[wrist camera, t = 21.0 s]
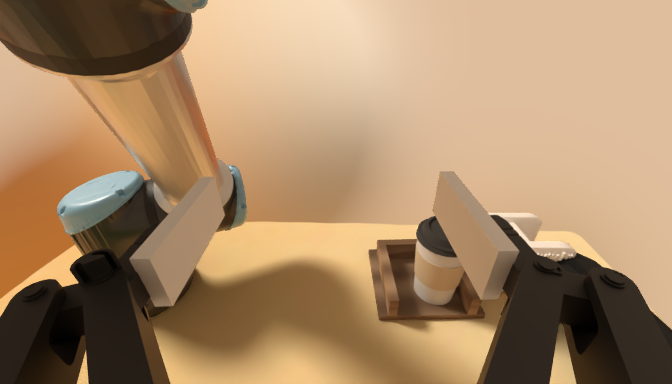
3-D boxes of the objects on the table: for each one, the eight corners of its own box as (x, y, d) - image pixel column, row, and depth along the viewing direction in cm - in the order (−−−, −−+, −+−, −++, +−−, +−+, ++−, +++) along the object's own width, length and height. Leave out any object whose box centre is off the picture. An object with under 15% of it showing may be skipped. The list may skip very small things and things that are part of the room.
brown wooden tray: (483, 317, 48) (491, 298, 45) (379, 320, 48) (380, 300, 45) (449, 251, 62) (453, 233, 59) (368, 252, 62) (369, 235, 59)
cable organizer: (524, 256, 60) (544, 212, 54) (556, 296, 51) (584, 249, 45) (454, 255, 61) (466, 211, 55) (473, 295, 52) (489, 248, 46)
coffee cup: (448, 320, 46) (468, 253, 39) (399, 293, 51) (408, 229, 44) (465, 285, 52) (485, 222, 45) (419, 264, 57) (431, 203, 50)
